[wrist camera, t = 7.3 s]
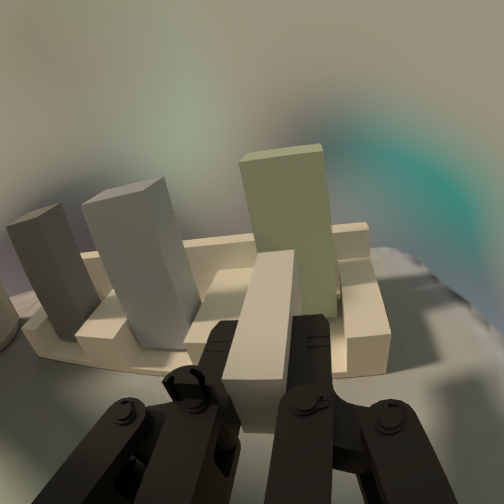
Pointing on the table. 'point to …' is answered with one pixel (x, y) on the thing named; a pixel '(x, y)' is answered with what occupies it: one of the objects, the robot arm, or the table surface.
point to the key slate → (145, 260)
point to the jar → (7, 319)
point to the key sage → (294, 217)
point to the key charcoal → (55, 268)
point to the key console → (227, 311)
